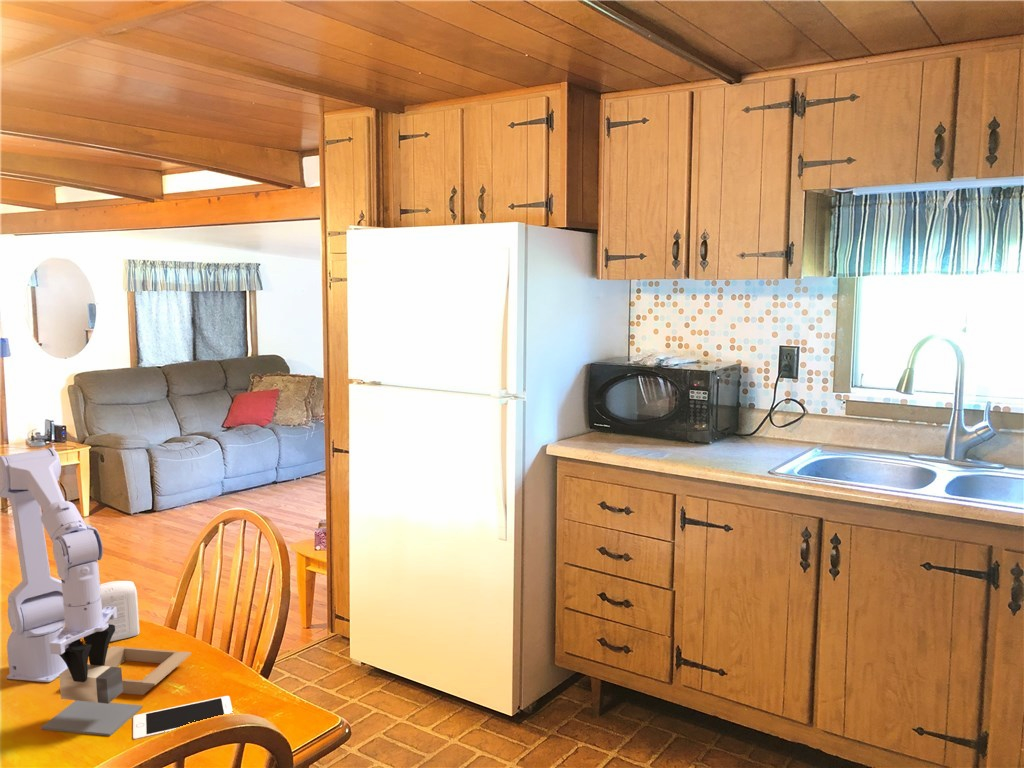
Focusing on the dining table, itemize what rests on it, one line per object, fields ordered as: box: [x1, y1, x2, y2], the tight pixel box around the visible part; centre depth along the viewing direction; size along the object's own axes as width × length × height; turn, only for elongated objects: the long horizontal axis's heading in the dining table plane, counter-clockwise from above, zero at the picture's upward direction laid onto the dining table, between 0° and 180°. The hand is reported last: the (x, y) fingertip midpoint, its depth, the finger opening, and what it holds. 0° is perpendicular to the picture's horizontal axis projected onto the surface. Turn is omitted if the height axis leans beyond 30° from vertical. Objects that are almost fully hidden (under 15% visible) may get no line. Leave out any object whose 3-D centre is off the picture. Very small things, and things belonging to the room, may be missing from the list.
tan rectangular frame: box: [88, 645, 192, 696], centre depth 158 cm, size 17×12×2 cm
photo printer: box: [100, 580, 140, 642], centre depth 173 cm, size 10×4×12 cm, turn 123°
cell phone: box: [132, 695, 234, 740], centre depth 144 cm, size 8×16×1 cm, turn 114°
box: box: [58, 665, 123, 704], centre depth 142 cm, size 9×4×4 cm, turn 81°
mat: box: [40, 700, 143, 737], centre depth 143 cm, size 13×9×1 cm
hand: (89, 674), depth 142 cm, fingers closed on box, 4 cm apart
